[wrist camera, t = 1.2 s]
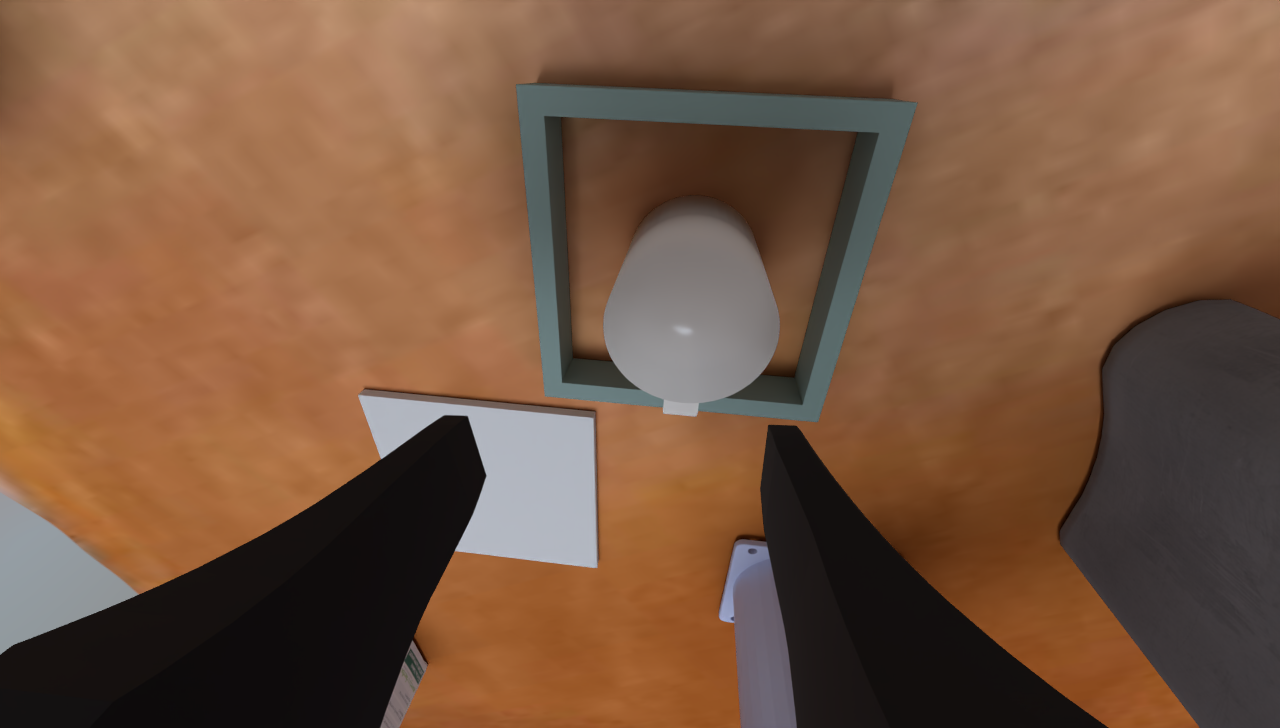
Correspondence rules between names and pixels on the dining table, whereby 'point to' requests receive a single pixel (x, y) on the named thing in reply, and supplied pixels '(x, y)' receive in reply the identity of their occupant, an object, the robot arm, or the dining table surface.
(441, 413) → the mat
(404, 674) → the syrup box
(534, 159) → the holder
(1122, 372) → the flask
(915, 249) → the dining table surface
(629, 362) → the jug
